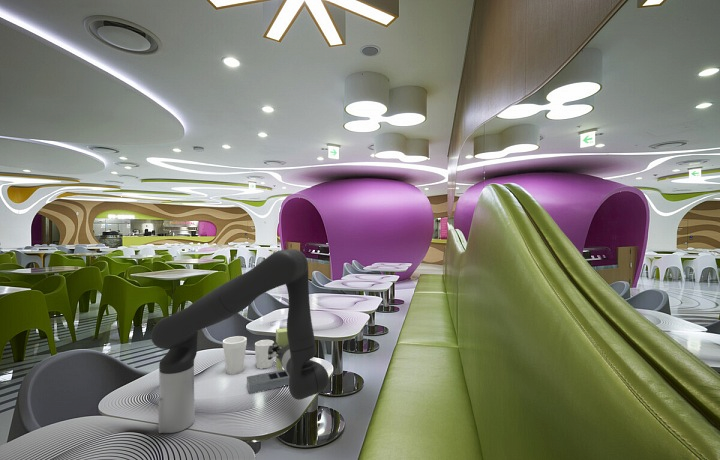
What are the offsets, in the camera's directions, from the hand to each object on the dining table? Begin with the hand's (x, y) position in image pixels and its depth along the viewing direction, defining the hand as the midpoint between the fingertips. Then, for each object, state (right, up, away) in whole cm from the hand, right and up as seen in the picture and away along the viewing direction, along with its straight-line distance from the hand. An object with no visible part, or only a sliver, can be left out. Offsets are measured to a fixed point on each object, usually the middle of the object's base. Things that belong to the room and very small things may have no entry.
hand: (282, 343), depth 119 cm
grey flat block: (-4, -18, +8) cm, 20 cm away
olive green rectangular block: (+1, -7, -2) cm, 8 cm away
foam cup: (-24, -18, +19) cm, 36 cm away
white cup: (-13, -18, +24) cm, 33 cm away
